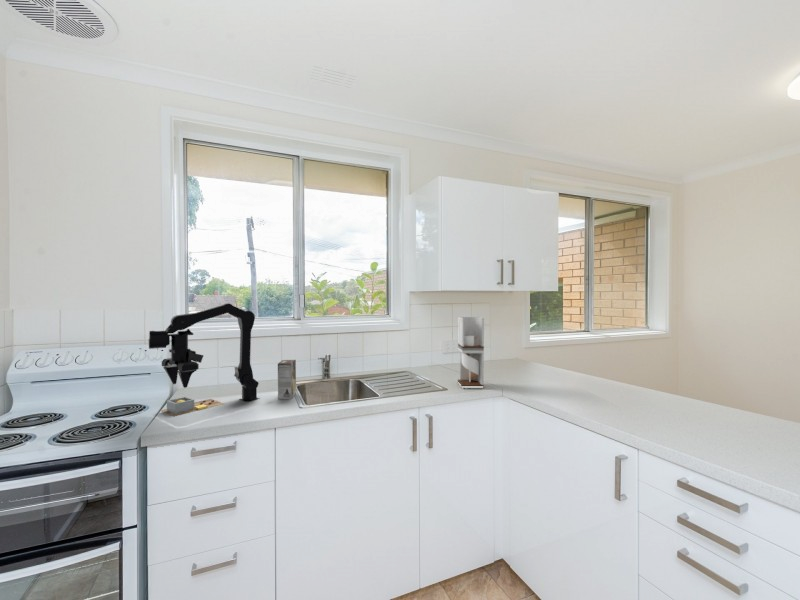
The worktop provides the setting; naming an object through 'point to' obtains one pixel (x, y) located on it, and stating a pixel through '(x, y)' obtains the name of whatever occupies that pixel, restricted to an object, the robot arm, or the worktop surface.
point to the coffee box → (286, 379)
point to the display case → (471, 350)
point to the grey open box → (180, 405)
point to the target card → (200, 407)
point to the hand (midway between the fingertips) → (179, 385)
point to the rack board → (206, 402)
